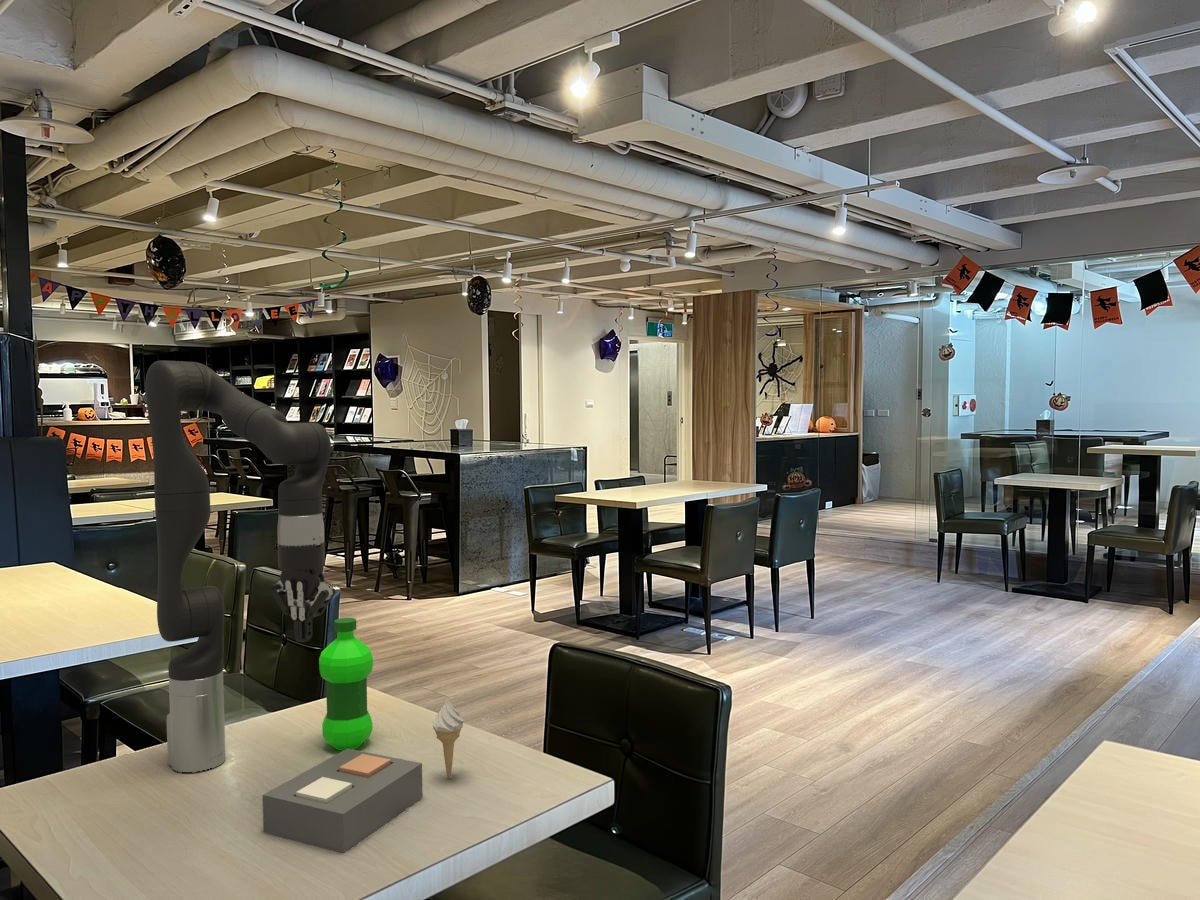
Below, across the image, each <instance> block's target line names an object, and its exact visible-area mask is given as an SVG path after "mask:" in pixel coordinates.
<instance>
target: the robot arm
mask: <svg viewBox="0 0 1200 900" xmlns="http://www.w3.org/2000/svg"><path fill="white" fill-rule="evenodd" d="M144 386H145V387H144V390H145V391H144V392H145V401H146V409H147V416H148V422H149V423H148V424H149V429H150V436H151V444H152V455H153V456H152V457H153V458H152V459H153V472H154V473H153V474H154V475H153V476H154V477H153V478H154V481H153V483H154V486H153V487H154V493H153V494H154V512H155V523H156V524H155V525H156V536H157V537H156V539H157V540H156V541H157V555H158V557H157V558H158V560H157V561H158V562H157V563H158V564H157V589H156V590H157V591H156V593H157V595H156V621H157V627H158V632H159V634H160V636H161V638H162V640H163V641H166V642H168V643H169V642H170V643H171V642H180V641H184V640H190V639H195V638H198V639H197V641H195V643H194V644H192V645H191V647H189V648H188V649H186V650H185V651H182V652H181V653H180V654H177V655H176V656H174V657H173V658H172V659H170V661H169V663H168V667H167V669H168V692H169V713H167V714H166V741H167V743H166V745H167V746H166V747H167V748H166V749H167V765H168V766H171V769H172V770H173V769H174V770H176V771H175V772H177V771H178V772H177V773H182V772H192V773H195V772H194V771H200V772H202V771H201V770H205V771H208V770H207V769H209V770H211V769H210V768H212V769H214V768H217V767H218V766H220V765H222V764H223V763H224V762H225V761H226V731H225V730H226V729H225V728H226V727H225V697H224V695H225V694H224V692H225V691H224V664H223V663H224V654H225V645H224V643H225V641H224V639H225V603H224V598H223V594H222V593H221V591H220V589H219V588H218V587H217V586H215V585H204V586H197V587H190V588H183V589H181V587H182V578H183V573H184V570H185V566H186V563H187V561H188V559H189V557H190V555H191V552H193V549H194V548H195V547H196V544H198V541H199V540H200V538H201V536H202V535H203V533H204V531H205V530H206V528H207V526H208V524H209V522H210V518H211V514H212V513H211V489H210V482H209V479H208V477H207V474H206V473H205V470H204V469H203V467H202V466H201V464H200V462H199V460H197V458H196V456H195V455H194V454H193V452H192V450H191V449H190V447H189V445H188V444H187V442H186V439H185V436H184V433H183V427H182V420H181V412H197V411H205V412H209V413H213V414H216V415H218V416H221V418H222V420H223V423H224V425H225V426H226V428H227V429H228V430H229V431H231V432H232V433H233V434H234V435H236V436H238V437H240V438H241V439H244V440H245V441H247V442H250V443H251V444H254V445H255V446H256V447H257V448H258V450H260V452H261V453H262V454H264V456H265V457H266V458H267V459H268V460H270V461H271V462H273V463H276V464H279V465H282V466H296V465H297V466H296V470H295V473H294V475H292V476H291V477H290V478H287V479H285V480H283V481H281V482H280V483H279V485H278V491H277V492H278V493H277V495H278V496H277V498H278V499H277V500H278V502H277V503H278V520H277V565H278V569H279V570H281V573H280V575H279V581H277V582H276V583H275V584H271V585H269V591H270V593H271V594H272V596H273V597H274V600H275V601H276V603H277V605H278V606H279V608H280V610H281V611H282V613H283V615H285V616H289V617H291V619H292V620H293V635H294V636H293V637H294V638H295V641H296V642H301V643H306V642H308V641H309V642H310V641H311V639H312V637H313V619H314V618H315V617H318V616H322V614H323V613H324V612H325V610H326V609H327V607H328V606H329V604H330V603H331V601H332V600H333V598H334V596H335V595H336V593H337V591H336V589H335V588H334V587H329V586H328V585H327V584H326V583H325V575H324V573H323V568H324V566H325V563H326V562H325V561H326V560H325V559H326V556H325V554H326V553H325V552H326V551H325V549H326V548H325V524H324V517H323V496H322V495H323V494H322V491H323V489H322V488H323V485H324V482H325V478H326V474H327V469H328V465H329V461H330V458H331V457H330V456H331V451H332V446H331V444H332V443H331V442H332V441H331V437H330V435H329V433H328V431H327V429H326V428H325V427H324V426H323V425H321V424H320V423H318V422H311V421H310V422H288V420H287V417H286V416H285V415H284V414H283V413H282V412H281V411H279V410H277V409H276V408H273V407H272V406H269V405H268V404H265V403H263V401H259V400H256V399H255V398H253V397H251V396H249V395H248V394H245V393H243V392H242V391H241V390H239V389H237V388H236V387H235V386H234V385H233V384H231V383H230V382H229V381H228V380H225V379H224V378H223V377H222V376H221V375H219V374H218V373H217V372H215V371H214V370H213V369H212V368H211V367H208V366H207V365H205V364H203V363H200V362H197V361H183V360H180V361H179V360H177V361H176V360H164V359H163V360H157V361H154V362H153V363H151V365H150V366H149V367H148V369H147V372H146V375H145V384H144ZM174 770H173V771H174Z"/></svg>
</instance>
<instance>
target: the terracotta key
mask: <svg viewBox="0 0 1200 900" xmlns="http://www.w3.org/2000/svg"><path fill="white" fill-rule="evenodd" d="M389 765H391V759H386V758H381V757H376V756H371V755H366V754H362V755H360V756H358V757H356V758H355V759H353V760H351V761H349V762H347V763H346V764H344V765H342V766H340V767H339V772H342V773H347V774H352V775H356V776H361V777H366V778H370V777H371V776H373V775H374V774H376V773H378V772H379V771H381V770H383V769H384V768H386V767H387V766H389Z"/></svg>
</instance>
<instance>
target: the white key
mask: <svg viewBox="0 0 1200 900" xmlns="http://www.w3.org/2000/svg"><path fill="white" fill-rule="evenodd" d="M350 789H352V783H348V782H344V781H339V780H334V779H330V778H325V777H322V778H320V779H318V780H316V781H315V782H313V783H311V784H309V785H308V786H306V787H304V788H302V789H300V790H299V791H297V792H296V797H299V798H303V799H308V800H312V801H316V802H321V803H325V804H327V803H329V802H330V801H332V800H334V799H335V798H337V797H338V796H340V795H342V794H343V793H345V792H347V791H348V790H350Z"/></svg>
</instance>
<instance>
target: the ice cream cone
mask: <svg viewBox="0 0 1200 900" xmlns="http://www.w3.org/2000/svg"><path fill="white" fill-rule="evenodd" d="M431 723H432V729H433V730H434V732H435V734H436V739H437V740H439V741H440V742H441V743H442V750H443V756H444V764H445V770H446V772H445V774H446V777H447V779H448V780H450V779H451V778H452V772H453V759H454V749H455V748H454V747H455V743H456V740H457V739H458V738H459V737H460V736H461V735H460V734H461V730H462V728H463V727H464V718H462V717H461V715H460V713H459V712H458V711H457V708H455V707H454V705H453V704H452V702H451V701H450V699H449V697H448V696H447V698H446V699H445V702H444V704H443V706H441V709H440V710H439V712H438V713H437V715H436V716H435V717H434V718H433V720H432V722H431Z"/></svg>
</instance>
